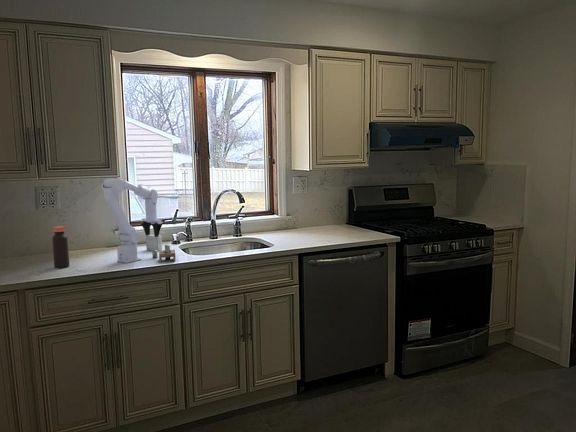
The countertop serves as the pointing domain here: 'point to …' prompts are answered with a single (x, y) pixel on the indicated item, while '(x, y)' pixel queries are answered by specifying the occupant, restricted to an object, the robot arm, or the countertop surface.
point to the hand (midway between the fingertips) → (152, 235)
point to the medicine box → (154, 242)
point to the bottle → (60, 248)
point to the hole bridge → (166, 254)
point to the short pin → (154, 254)
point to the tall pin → (167, 249)
